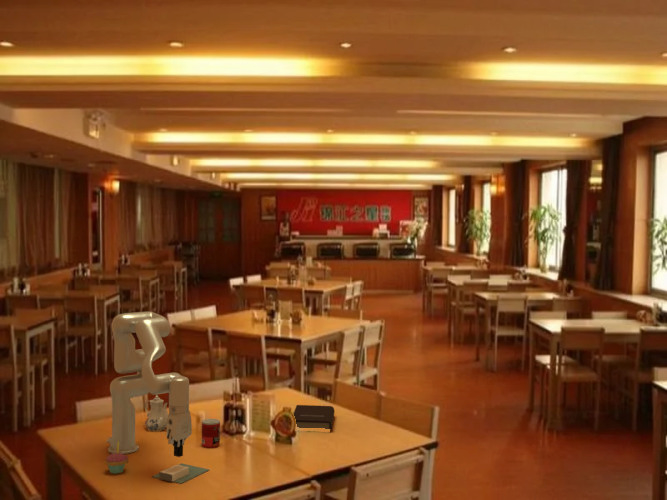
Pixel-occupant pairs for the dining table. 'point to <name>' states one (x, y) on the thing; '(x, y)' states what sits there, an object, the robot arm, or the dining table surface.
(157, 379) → the robot arm
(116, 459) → the cupcake
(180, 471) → the slab
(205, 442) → the canned food
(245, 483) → the dining table surface
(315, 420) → the book
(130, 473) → the dining table surface
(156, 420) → the chinaware
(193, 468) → the mat
